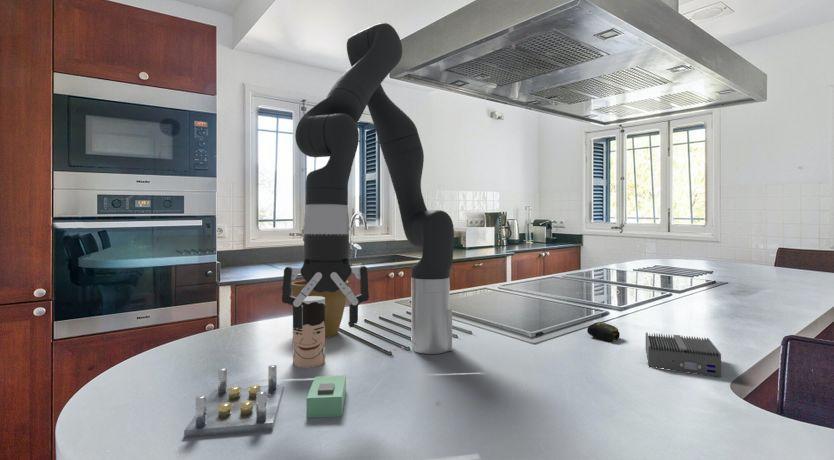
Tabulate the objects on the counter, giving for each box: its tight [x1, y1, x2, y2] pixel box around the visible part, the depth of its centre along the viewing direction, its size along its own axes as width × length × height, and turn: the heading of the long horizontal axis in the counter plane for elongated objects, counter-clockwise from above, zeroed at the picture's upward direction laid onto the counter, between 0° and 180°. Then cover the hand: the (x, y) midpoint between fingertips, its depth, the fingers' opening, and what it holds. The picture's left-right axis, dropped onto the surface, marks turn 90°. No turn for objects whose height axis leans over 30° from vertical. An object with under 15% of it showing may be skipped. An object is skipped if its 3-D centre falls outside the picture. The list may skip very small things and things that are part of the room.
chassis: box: [183, 364, 285, 439], centre depth 70 cm, size 16×12×5 cm
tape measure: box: [586, 322, 620, 343], centre depth 114 cm, size 7×7×4 cm
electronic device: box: [645, 332, 722, 378], centre depth 96 cm, size 13×15×5 cm
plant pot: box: [291, 279, 350, 339], centre depth 114 cm, size 15×15×16 cm
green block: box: [306, 375, 347, 418], centre depth 73 cm, size 10×6×4 cm, turn 6°
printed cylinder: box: [292, 296, 326, 368], centre depth 92 cm, size 7×7×15 cm
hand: (326, 327), depth 73 cm, fingers open, 8 cm apart
